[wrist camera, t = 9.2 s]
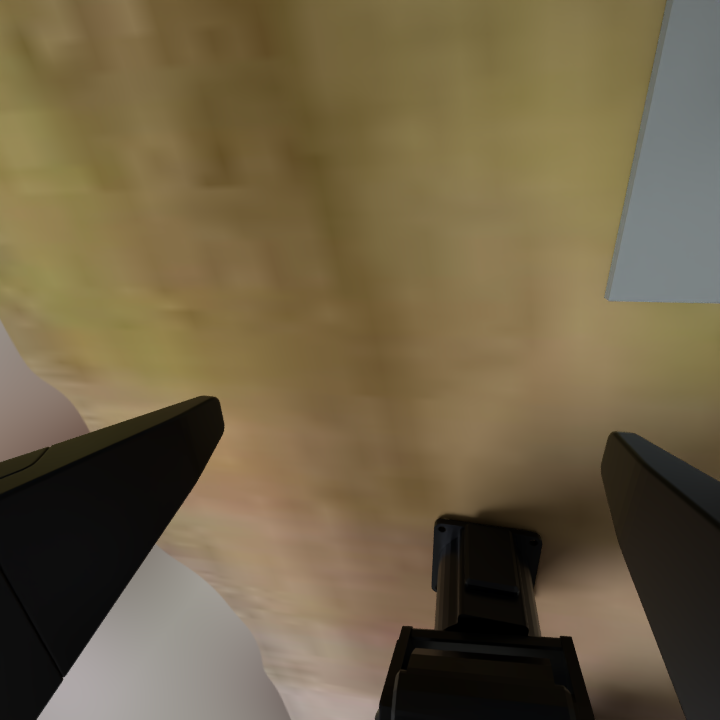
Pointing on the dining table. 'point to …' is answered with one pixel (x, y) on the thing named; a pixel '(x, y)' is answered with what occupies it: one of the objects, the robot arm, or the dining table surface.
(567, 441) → the dining table surface
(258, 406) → the dining table surface
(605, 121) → the dining table surface
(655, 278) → the build plate
